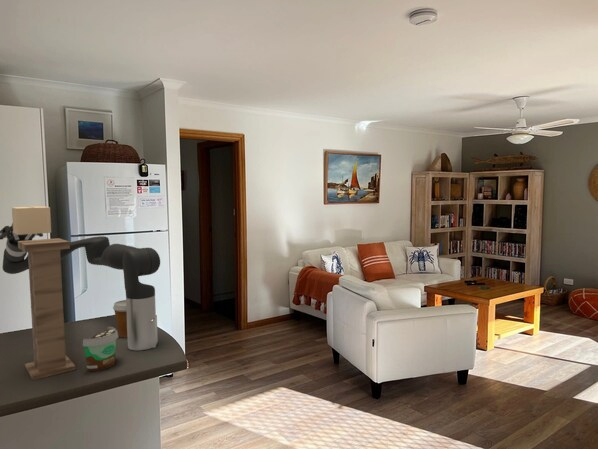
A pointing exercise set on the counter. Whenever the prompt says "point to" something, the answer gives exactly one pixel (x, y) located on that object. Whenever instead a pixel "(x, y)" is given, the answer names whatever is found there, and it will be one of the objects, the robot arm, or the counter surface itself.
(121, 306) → the disposable coffee cup
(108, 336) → the food container
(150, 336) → the robot arm
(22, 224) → the wooden mallet
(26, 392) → the counter surface
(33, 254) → the walnut stand
